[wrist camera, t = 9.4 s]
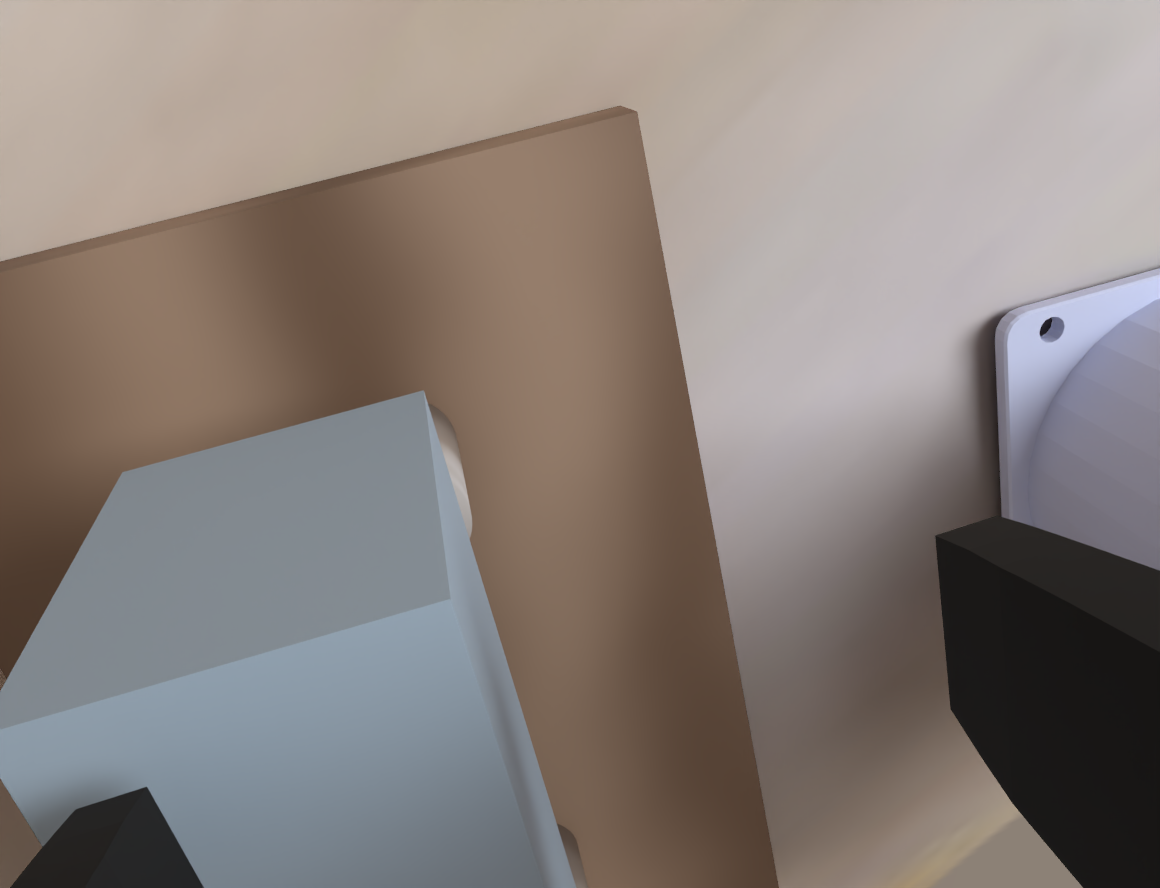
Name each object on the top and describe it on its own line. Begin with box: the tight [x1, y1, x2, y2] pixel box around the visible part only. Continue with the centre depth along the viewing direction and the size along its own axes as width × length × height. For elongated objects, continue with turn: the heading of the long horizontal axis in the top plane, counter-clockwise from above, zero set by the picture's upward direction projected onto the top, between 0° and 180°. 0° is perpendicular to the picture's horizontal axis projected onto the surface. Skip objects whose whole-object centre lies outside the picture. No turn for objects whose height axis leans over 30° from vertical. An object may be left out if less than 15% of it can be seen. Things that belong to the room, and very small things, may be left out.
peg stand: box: [0, 106, 779, 888], centre depth 19 cm, size 13×19×4 cm
